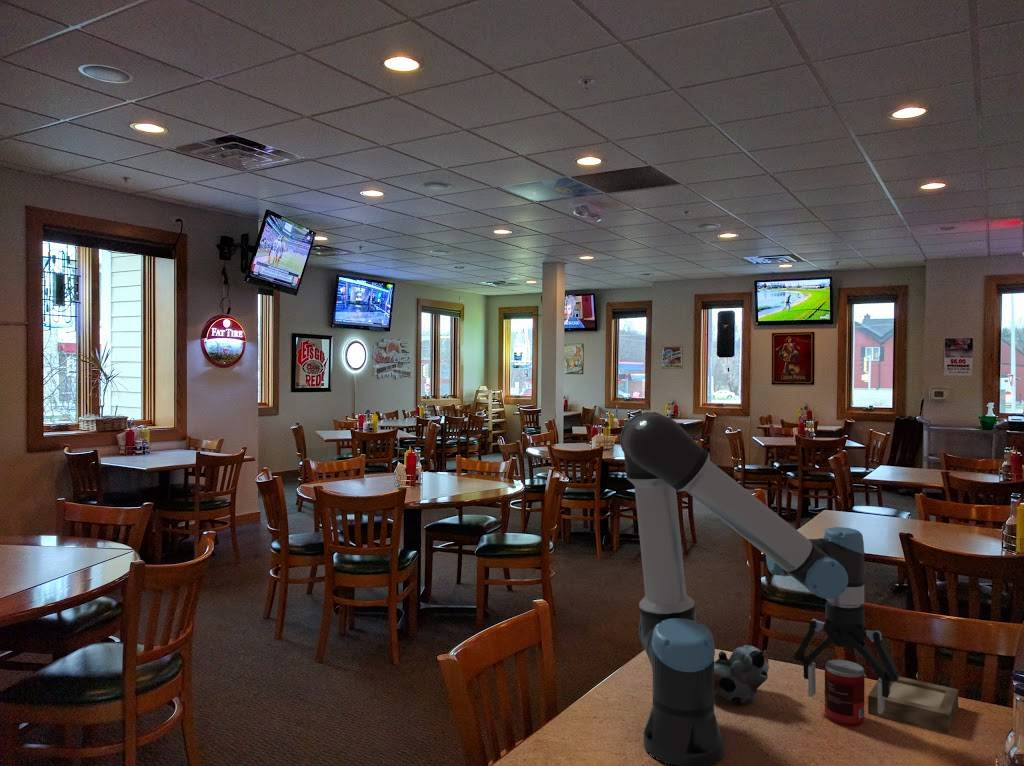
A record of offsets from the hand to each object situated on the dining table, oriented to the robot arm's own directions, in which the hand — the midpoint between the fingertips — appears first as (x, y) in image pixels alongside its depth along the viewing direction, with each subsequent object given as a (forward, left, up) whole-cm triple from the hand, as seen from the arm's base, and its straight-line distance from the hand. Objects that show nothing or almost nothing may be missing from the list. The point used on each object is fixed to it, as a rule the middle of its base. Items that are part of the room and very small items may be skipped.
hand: (845, 702), depth 155 cm
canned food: (0, 0, -4) cm, 4 cm away
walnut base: (+11, +13, -3) cm, 17 cm away
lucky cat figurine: (-23, -3, -4) cm, 23 cm away
